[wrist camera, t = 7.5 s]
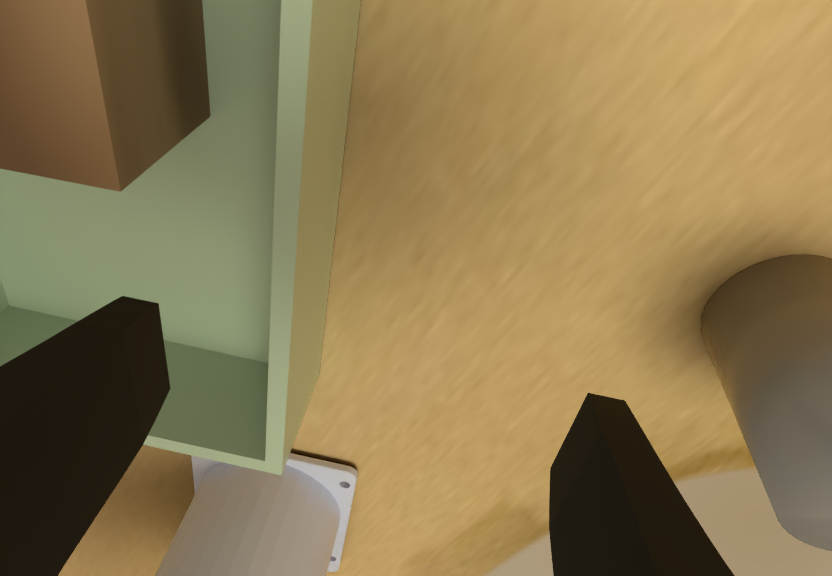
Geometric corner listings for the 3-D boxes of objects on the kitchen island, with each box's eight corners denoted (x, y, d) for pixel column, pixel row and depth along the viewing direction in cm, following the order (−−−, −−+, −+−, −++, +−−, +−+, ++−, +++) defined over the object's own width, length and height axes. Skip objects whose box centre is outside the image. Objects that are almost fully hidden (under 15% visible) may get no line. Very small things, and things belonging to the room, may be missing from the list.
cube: (196, -80, 14) (74, -59, 10) (210, 116, 17) (120, 192, 13) (-1, -116, 14) (-197, -109, 10) (47, 85, 17) (-91, 151, 13)
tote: (319, 373, 24) (281, 475, 20) (8, 304, 24) (-92, 392, 20) (375, -127, 14) (320, -125, 10) (-170, -251, 14) (-451, -299, 10)
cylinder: (809, 382, 21) (918, 570, 15) (675, 353, 21) (736, 529, 15) (902, 274, 18) (1079, 457, 12) (746, 239, 18) (854, 407, 12)
